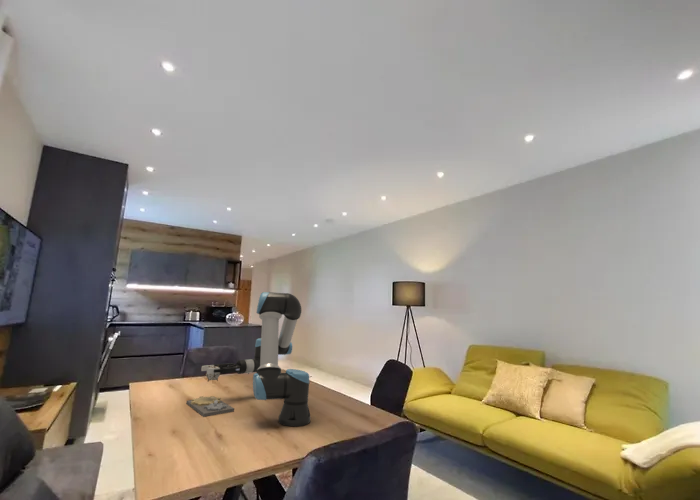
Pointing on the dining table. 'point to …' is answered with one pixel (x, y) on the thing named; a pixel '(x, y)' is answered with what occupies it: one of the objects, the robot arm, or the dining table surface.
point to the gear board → (209, 406)
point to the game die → (213, 376)
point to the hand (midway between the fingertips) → (204, 369)
